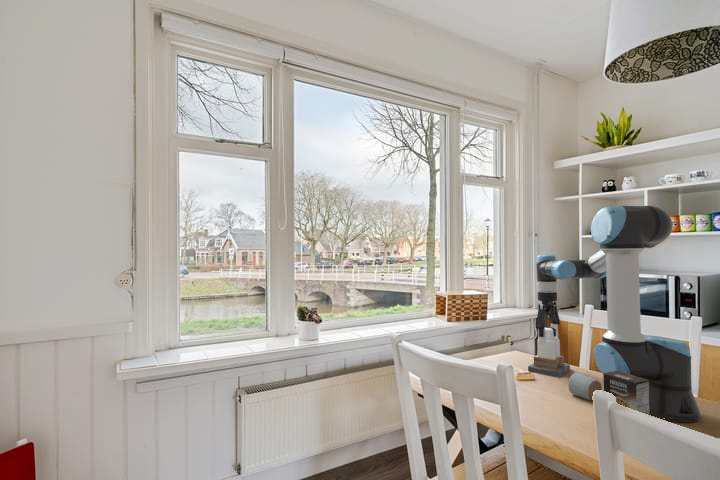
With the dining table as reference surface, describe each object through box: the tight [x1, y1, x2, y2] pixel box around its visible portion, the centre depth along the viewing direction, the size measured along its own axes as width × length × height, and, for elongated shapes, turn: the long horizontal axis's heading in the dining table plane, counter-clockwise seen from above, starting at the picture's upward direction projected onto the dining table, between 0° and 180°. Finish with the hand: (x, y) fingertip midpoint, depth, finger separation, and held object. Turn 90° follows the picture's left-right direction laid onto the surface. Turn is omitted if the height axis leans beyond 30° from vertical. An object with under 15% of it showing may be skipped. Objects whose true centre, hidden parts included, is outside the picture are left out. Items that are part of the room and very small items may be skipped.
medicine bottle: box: [536, 326, 561, 359], centre depth 170 cm, size 7×7×12 cm
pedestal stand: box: [527, 354, 571, 378], centre depth 170 cm, size 14×12×6 cm
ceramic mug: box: [567, 372, 603, 401], centre depth 140 cm, size 11×8×8 cm
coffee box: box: [602, 371, 650, 416], centre depth 112 cm, size 9×6×16 cm
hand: (548, 342), depth 170 cm, fingers open, 13 cm apart
